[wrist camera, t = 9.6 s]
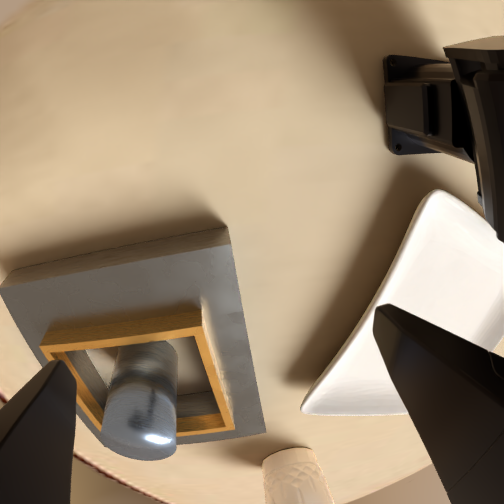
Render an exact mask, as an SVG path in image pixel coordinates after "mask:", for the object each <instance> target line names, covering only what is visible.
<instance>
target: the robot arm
mask: <svg viewBox="0 0 504 504" xmlns="http://www.w3.org/2000/svg"><path fill="white" fill-rule="evenodd" d="M443 49H444V52H445V55H446V57H447V58H449V61H450V62H444V61H438V60H431V59H424V58H417V57H408V56H399V55H388V56H385V57H384V59H383V66H384V75H385V86H384V92H385V105H386V122H387V125H388V134H389V150H390V151H391V152H392V153H393V154H396V155H407V154H425V153H445V154H448V155H451V156H454V157H457V158H459V159H462V160H465V161H468V162H470V163H473V164H475V169H476V176H477V183H478V192H477V196H478V202H479V203H480V205H481V206H482V207H483V210H484V215H485V219H486V221H487V222H488V223H489V224H490V226H491V227H492V228H493V230H494V231H496V238H497V239H498V240H500V241H501V242H503V243H504V36H492V37H487V38H482V39H477V40H472V41H467V42H463V43H458V44H454V45H450V46H446V47H443ZM390 60H392V61H393V66H392V65H391V64H390ZM397 144H398V149H397V150H396V149H395V146H396V145H397ZM372 331H373V336H374V339H375V341H376V343H377V346H378V348H379V351H380V353H381V356H382V358H383V361H384V363H385V366H386V369H387V371H388V374H389V376H390V378H391V380H392V382H393V384H394V386H395V388H396V390H397V392H398V394H399V396H400V398H401V400H402V402H403V404H404V406H405V407H406V409H407V411H408V413H409V415H410V417H411V419H412V421H413V423H414V425H415V427H416V429H417V431H418V433H419V435H420V437H421V439H422V441H423V443H424V445H425V448H426V450H427V452H428V454H429V456H430V458H431V460H432V462H433V464H434V466H435V469H436V471H437V473H438V475H439V477H440V479H441V482H442V483H443V486H444V488H445V490H446V492H447V495H448V497H449V500H450V502H451V504H504V358H503V357H501V356H499V355H497V354H495V353H493V352H491V351H489V352H488V350H486V349H484V348H482V347H480V346H478V345H476V344H474V343H472V342H470V341H468V340H466V339H464V338H462V337H460V336H457V335H455V334H453V333H451V332H449V331H447V330H445V329H443V328H441V327H439V326H437V325H435V324H432V323H430V322H428V321H426V320H424V319H422V318H420V317H418V316H416V315H414V314H411V313H409V312H407V311H405V310H403V309H401V308H399V307H397V306H395V305H392V304H390V303H387V304H383V305H379V306H377V307H376V308H375V312H374V320H373V328H372ZM76 397H77V382H76V379H75V377H74V376H73V374H72V372H71V371H70V369H69V368H68V366H67V365H66V363H65V362H64V361H63V360H51V361H50V362H48V363H47V364H46V365H45V366H44V367H43V368H42V369H41V370H40V371H39V372H38V373H37V374H36V375H35V376H34V377H33V378H32V379H31V380H30V381H29V382H28V383H26V384H25V385H24V386H23V387H22V388H21V389H20V390H19V391H18V392H17V393H16V394H15V395H14V396H13V397H12V398H11V399H10V400H9V401H8V402H7V403H6V404H5V405H4V406H3V407H2V408H1V409H0V504H70V493H71V474H72V459H73V449H74V439H75V427H76Z"/></svg>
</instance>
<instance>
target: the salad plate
mask: <svg viewBox="0 0 504 504" xmlns="http://www.w3.org/2000/svg"><path fill="white" fill-rule="evenodd" d="M387 303H390V304H392V305H395V306H397V307H399V308H401V309H403V310H405V311H407V312H409V313H411V314H414V315H416V316H418V317H420V318H422V319H424V320H426V321H428V322H430V323H432V324H435V325H437V326H439V327H441V328H443V329H445V330H447V331H449V332H451V333H453V334H455V335H457V336H460V337H462V338H464V339H466V340H468V341H470V342H472V343H474V344H476V345H478V346H480V347H482V348H484V349H486V350H488V352H489V351H491V352H493V351H494V349H495V348H496V347H497V345H498V344H499V343H500V341H501V340H502V338H503V337H504V243H503V242H501V241H500V240H498V239H497V238H496V231H494V230H493V228H492V227H491V226H490V224H489V223H488V222H487V221H486V220H485V219H484V218H483V217H481V216H480V215H479V214H478V213H477V212H475V211H474V210H473V209H472V208H470V207H469V206H468V205H467V204H465V203H464V202H463V201H461V200H460V199H458V198H457V197H455V196H453V195H452V194H450V193H449V192H447V191H445V190H442V189H435V190H433V191H431V192H429V193H428V194H427V195H426V196H425V197H424V198H423V199H422V201H421V202H420V204H419V205H418V207H417V209H416V211H415V214H414V216H413V218H412V220H411V222H410V225H409V227H408V229H407V232H406V234H405V236H404V238H403V241H402V243H401V245H400V247H399V250H398V252H397V254H396V256H395V258H394V260H393V262H392V264H391V266H390V268H389V270H388V272H387V274H386V276H385V278H384V280H383V281H382V283H381V285H380V287H379V289H378V291H377V292H376V294H375V296H374V298H373V299H372V301H371V303H370V304H369V306H368V308H367V309H366V311H365V313H364V314H363V316H362V317H361V319H360V321H359V322H358V324H357V325H356V327H355V328H354V330H353V331H352V333H351V334H350V336H349V337H348V339H347V340H346V342H345V343H344V345H343V346H342V347H341V349H340V350H339V352H338V353H337V354H336V356H335V357H334V359H333V360H332V361H331V363H330V364H329V365H328V366H327V368H326V369H325V370H324V372H323V373H322V374H321V375H320V377H319V378H318V379H317V380H316V382H315V383H314V384H313V385H312V387H311V388H310V390H309V391H308V393H307V394H306V396H305V398H304V400H303V402H302V404H301V407H300V410H301V412H302V413H304V414H311V415H330V416H377V415H400V414H409V413H408V411H407V409H406V407H405V406H404V404H403V402H402V400H401V398H400V396H399V394H398V392H397V390H396V388H395V386H394V384H393V382H392V380H391V378H390V376H389V374H388V371H387V369H386V366H385V363H384V361H383V358H382V356H381V353H380V351H379V348H378V346H377V343H376V341H375V339H374V336H373V331H372V328H373V320H374V312H375V308H376V307H377V306H379V305H383V304H387Z"/></svg>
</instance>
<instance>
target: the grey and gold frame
mask: <svg viewBox="0 0 504 504" xmlns="http://www.w3.org/2000/svg"><path fill="white" fill-rule="evenodd" d="M0 295H1V297H2V299H3V301H4V303H5V304H6V306H7V308H8V310H9V312H10V314H11V316H12V318H13V320H14V321H15V323H16V325H17V327H18V328H19V330H20V332H21V334H22V335H23V337H24V339H25V340H26V342H27V344H28V345H29V347H30V349H31V350H32V352H33V353H34V355H35V357H36V358H37V360H38V361H39V363H40V364H41V366H42V367H44V366H45V365H46V364H47V363H48V362H50V361H51V360H63V361H64V362H65V363H66V365H67V366H68V368H69V369H70V371H71V372H72V374H73V376H74V377H75V379H76V382H77V397H76V414H77V415H78V416H79V418H80V419H81V420H82V421H83V422H84V424H85V425H86V426H87V427H88V428H89V430H90V431H91V432H92V433H93V434H94V435H95V436H96V438H97V439H98V440H99V441H100V442H101V443H102V444H103V445H104V443H103V442H102V440H101V438H100V433H101V427H102V422H103V417H104V411H105V406H106V401H107V397H108V392H109V390H108V388H107V387H106V385H105V384H104V382H103V380H102V379H101V377H100V376H99V374H98V372H97V371H96V369H95V367H94V366H93V364H92V362H91V360H90V359H89V357H88V355H87V353H86V352H85V349H95V348H104V347H113V346H122V345H130V344H138V343H146V342H153V341H160V340H168V339H174V338H181V337H188V336H195V339H196V342H197V345H198V349H199V352H200V355H201V358H202V361H203V364H204V367H205V370H206V373H207V375H208V378H209V381H210V384H211V387H212V390H213V391H210V392H203V393H196V394H188V395H180V396H177V410H176V445H180V444H191V443H201V442H209V441H217V440H225V439H232V438H238V437H244V436H250V435H256V434H261V433H266V428H265V423H264V418H263V413H262V408H261V403H260V398H259V393H258V387H257V382H256V377H255V372H254V367H253V362H252V356H251V351H250V346H249V340H248V335H247V330H246V324H245V319H244V313H243V308H242V303H241V297H240V292H239V286H238V280H237V275H236V269H235V264H234V258H233V252H232V246H231V241H230V236H229V231H228V227H223V228H218V229H212V230H207V231H201V232H196V233H190V234H185V235H180V236H174V237H169V238H164V239H159V240H154V241H149V242H143V243H138V244H133V245H128V246H123V247H118V248H114V249H109V250H104V251H99V252H94V253H89V254H85V255H80V256H75V257H71V258H66V259H61V260H57V261H52V262H48V263H43V264H39V265H34V266H30V267H25V268H21V269H17V270H13V271H12V272H11V273H10V274H9V276H8V277H7V278H6V279H5V280H4V281H3V283H2V284H1V285H0ZM104 447H106V446H105V445H104Z"/></svg>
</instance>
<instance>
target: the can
mask: <svg viewBox="0 0 504 504" xmlns="http://www.w3.org/2000/svg"><path fill="white" fill-rule="evenodd" d="M177 371H178V356H177V353H176V351H175V350H174V348H173V347H172V346H171V345H170V344H169V343H167V342H166V341H164V340H160V341H153V342H146V343H138V344H130V345H122V346H119V349H118V353H117V357H116V361H115V365H114V369H113V374H112V378H111V383H110V387H109V392H108V397H107V401H106V406H105V411H104V417H103V422H102V427H101V433H100V438H101V440H102V442H103V443H104V445H105V446H106V447H108V448H109V449H110V450H112V451H114V452H115V453H117V454H120V455H122V456H125V457H128V458H132V459H137V460H145V461H153V460H161V459H165V458H167V457H170V456H171V455H173V454H174V452H175V451H176V410H177Z"/></svg>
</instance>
